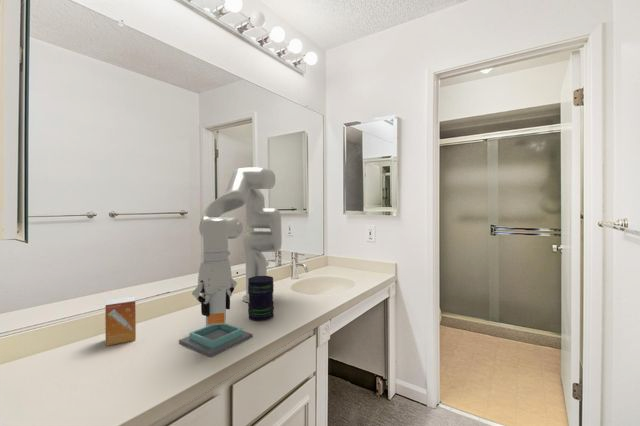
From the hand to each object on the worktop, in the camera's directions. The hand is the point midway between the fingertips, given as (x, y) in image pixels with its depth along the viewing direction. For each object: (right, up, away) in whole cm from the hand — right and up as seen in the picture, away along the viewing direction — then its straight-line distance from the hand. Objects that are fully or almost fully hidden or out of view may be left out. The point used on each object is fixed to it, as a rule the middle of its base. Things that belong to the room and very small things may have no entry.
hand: (216, 311), depth 96 cm
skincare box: (0, -4, 0) cm, 4 cm away
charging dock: (0, -9, 0) cm, 9 cm away
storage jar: (+10, -9, +21) cm, 25 cm away
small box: (-31, -10, +1) cm, 33 cm away
